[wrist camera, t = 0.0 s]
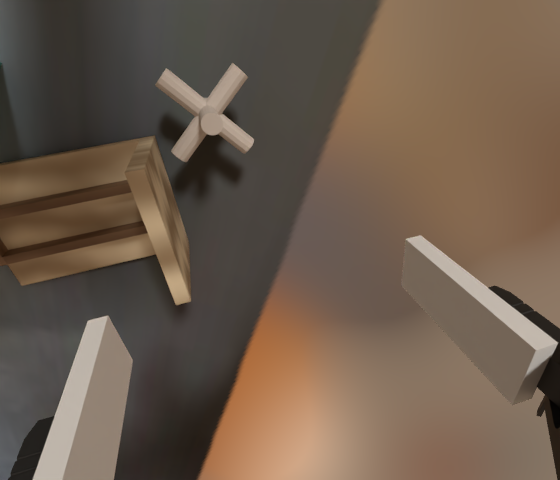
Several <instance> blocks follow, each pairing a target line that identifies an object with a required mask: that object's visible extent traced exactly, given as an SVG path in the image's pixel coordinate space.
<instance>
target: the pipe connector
mask: <svg viewBox="0 0 560 480" xmlns="http://www.w3.org/2000/svg"><path fill="white" fill-rule="evenodd" d="M247 78H248V77H247V76H246V74H245V73H243V72H242V71H241V70H240V69H239V68H238V67H237V66H236V65H234V64H233V63H232V64H231V66H230V67H229V68H228V70H227V71H226V73H225V74H224V76H223V77H222V78H221V80H220V81H219V83H218V84H217V86H216V87H215V88H214V90H213V91H212V93H211V94H210V96H209V97H208V98H203V97H201V96H200V95H199V94H198V93H196V92H195V91H194V90H193V89H192V88H190V87H189V86H188V85H187V84H185V83H184V82H183V81H182V80H181V79H179V78H178V77H177V76H176V75H174V74H173V73H172V72H171V71H169V70H168V69H167V68H166V69H165V71H164V73H163V74H162V76H161V77H160V79H159V80H158V82H157V83H156V85H155V86H156V87H158V88H159V89H160V90H162V91H163V92H164V93H166V94H167V95H168V96H169V97H171V98H172V99H173V100H175V101H176V102H177V103H178V104H180V105H181V106H182V107H184V108H185V109H186V110H188V111H189V112H190V113H191V114H193V115H194V116H195V117H194V118H193V120H192V121H191V123H190V124H189V126H188V127H187V128H186V130H185V131H184V133H183V134H182V136H181V137H180V138H179V140H178V141H177V143H176V144H175V146H174V147H173V148H172V150H171V151H172V153H173V154H174V155H175V156H176V157H178V158H179V159H181V160H182V161H184V162H187V161H188V160H189V158H190V157H191V156H192V154H193V153H194V151H195V150H196V149H197V147H198V146H199V144H200V143H201V142H202V140H203V139H204V137H205V136H206V135H207V134H208V135H217V134H219V135H220V136H221V137H223V138H224V139H225V140H226V141H228V142H229V143H230V144H232V145H233V146H234V147H236V148H237V149H238V150H239V151H241V152H242V153H246V152H247V151H248V150H249V149H250V148H251V146H252V145H253V142H254V139H253V138H252V137H251V136H249V135H248V134H247V133H246V132H244V131H243V130H242V129H241V128H239V127H238V126H237V125H236V124H235V123H233V122H232V121H231V120H230V119H228V118H227V117H226V116H225V115H223V114H222V113H223V111H224V110H225V108H226V107H227V106H228V104H229V103H230V101H231V100H232V99H233V97H234V96H235V95H236V93H237V92H238V90H239V89H240V88H241V86H242V85H243V83H244V82H245V81H246V79H247Z"/></svg>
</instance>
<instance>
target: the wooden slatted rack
mask: <svg viewBox="0 0 560 480" xmlns="http://www.w3.org/2000/svg"><path fill="white" fill-rule="evenodd" d="M155 254H156V255H157V258H158V260H159V263H160V265H161V268H162V271H163V273H164V276H165V278H166V281H167V283H168V286H169V289H170V291H171V294H172V296H173V299H174V301H175V304H176V305H179V304H183V303H187V302H190V301H191V287H190V258H189V241H188V238H187V235H186V232H185V229H184V226H183V222H182V219H181V216H180V213H179V210H178V207H177V204H176V200H175V197H174V194H173V191H172V188H171V185H170V182H169V178H168V175H167V172H166V169H165V166H164V163H163V160H162V157H161V153H160V150H159V147H158V144H157V141H156V138H155V135H154V136H149V137H143V138H138V139H132V140H127V141H121V142H116V143H110V144H105V145H99V146H94V147H88V148H83V149H77V150H72V151H66V152H61V153H55V154H49V155H44V156H38V157H33V158H27V159H22V160H16V161H11V162H5V163H0V266H3V265H8V266H9V268H10V269H11V271H12V272H13V274H14V275H15V277H16V278H17V279H18V281H19V282H20V284H21V285H22V286H23V285H28V284H32V283H36V282H40V281H45V280H49V279H53V278H57V277H62V276H66V275H70V274H74V273H79V272H83V271H87V270H91V269H96V268H100V267H104V266H108V265H113V264H117V263H121V262H126V261H130V260H134V259H138V258H143V257H147V256H151V255H155Z"/></svg>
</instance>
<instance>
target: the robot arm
mask: <svg viewBox="0 0 560 480" xmlns="http://www.w3.org/2000/svg"><path fill="white" fill-rule="evenodd" d="M401 286H402V287H403V288H404V289H405V290H406V291H407V292H408V293H409V294H410V295H411V297H412V298H413V299H414V300H415V301H416V302H417V303H418V304H419V305H420V306H421V307H422V308H423V309H424V311H425V312H426V313H427V314H428V315H429V316H430V317H431V318H432V319H433V320H434V321H435V322H436V324H438V326H439V327H440V328H441V329H442V330H443V331H444V332H445V333H446V334H447V335H448V336H449V337H450V339H451V340H452V341H453V342H454V343H455V344H456V345H457V346H458V347H459V348H460V349H461V350H462V352H463V353H464V354H466V356H467V357H468V358H469V359H470V360H471V361H472V362H473V363H474V365H475V366H476V367H477V368H478V369H479V370H480V371H481V372H482V373H483V374H484V375H485V376H486V377H487V379H488V380H489V381H490V382H491V383H492V384H493V385H494V386H495V387H496V388H497V389H498V390H499V391H500V392H501V393H502V395H503V396H504V397H505V398H506V399H507V400H508V401H509V402H510V403H511V404H512V405H514V404H517V403H520V402H523V401H525V400H528V399H531V398H532V397H533V394H534V392H535V390H536V388H537V387H538V388H539V389H540V390H541V391H542V392H543V393H544V394H545V396H544V398H543V400H542V402H541V404H540V406H539V408H538V410H537V416H540V417H541V416H542V414H543V412H544V410H545V413H546V418H547V424H548V429H549V435H550V441H551V446H552V451H553V457H554V463H555V468H556V474H557V479H558V480H560V329H559V328H558V327H556V326H555V325H554V324H553V323H551V322H550V321H548V320H547V319H546V318H544V317H543V316H542V315H540V314H539V313H538V312H536V311H534V310H533V309H532V308H531V307H530V306H528V305H527V304H524V303H523V301H521V300H520V299H519V298H517V297H516V296H515V295H513V294H512V293H511V292H509V291H506V290H504V289H502V288H499V287H497V286H492V287H489V288H487V287H486V286H485V285H483V284H482V283H481V282H480V281H478V280H477V279H476V278H474V277H473V276H472V275H471V274H469V273H468V272H467V271H466V270H464V269H463V268H462V267H460V266H459V265H458V264H456V263H455V262H454V261H453V260H451V259H450V258H449V257H447V256H446V255H445V254H444V253H443V252H441V251H440V250H439V249H437V248H436V247H435V246H434V245H432V244H431V243H430V242H428V241H427V240H426V239H425V238H423V237H422V236H421V235H420V236H416V237H412V238H408V239H406V240H405V251H404V262H403V272H402V283H401ZM132 362H133V360H132V358H131V356H130V354H129V353H128V351H127V349H126V347H125V345H124V344H123V342H122V340H121V338H120V336H119V334H118V333H117V331H116V329H115V327H114V325H113V324H112V322H111V320H110V318H109V316H104V317H100V318H96V319H93V320H89V321H88V322H87V325H86V328H85V331H84V333H83V336H82V339H81V342H80V345H79V348H78V351H77V354H76V356H75V359H74V362H73V365H72V368H71V371H70V374H69V377H68V379H67V382H66V385H65V388H64V391H63V394H62V397H61V400H60V402H59V405H58V408H57V411H56V414H55V416H53V417H49V418H46V419H42V420H39V421H38V422H37V423H36V424H35V426H34V427H33V428H32V430H31V431H30V432H29V434H28V435H27V436H26V438H25V439H24V442H23V444H22V447H21V449H20V451H19V454H18V456H17V461H16V462H15V464H14V466H13V469H12V471H11V477H10V478H9V479H8V480H114V475H115V469H116V463H117V456H118V450H119V444H120V438H121V431H122V425H123V419H124V412H125V406H126V400H127V394H128V387H129V381H130V375H131V368H132Z"/></svg>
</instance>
